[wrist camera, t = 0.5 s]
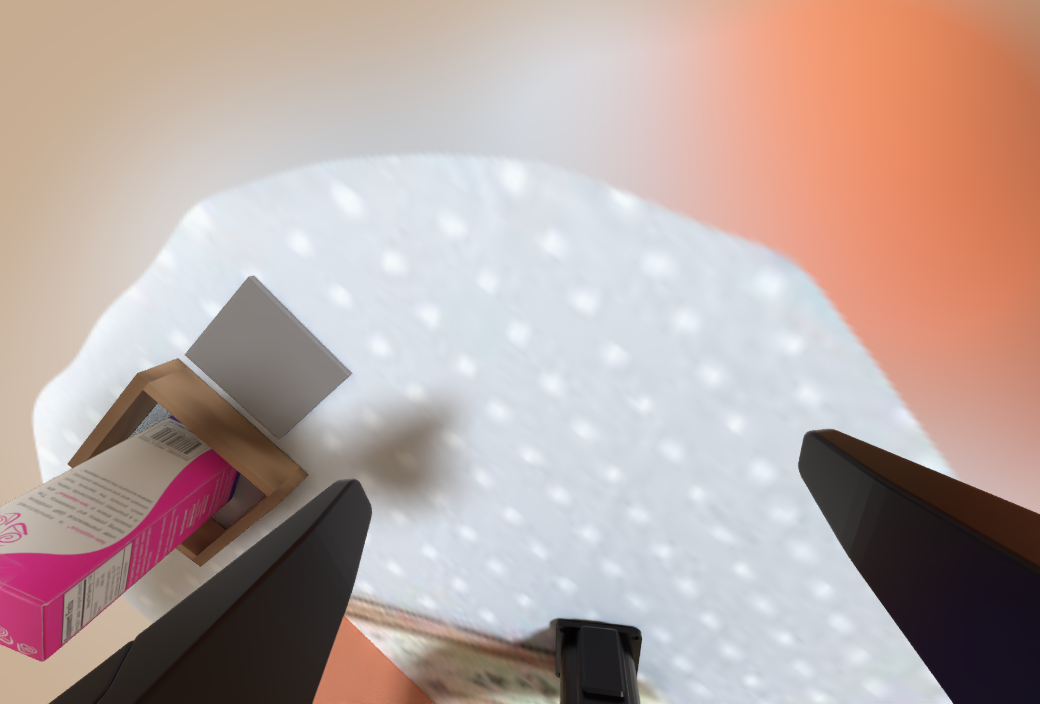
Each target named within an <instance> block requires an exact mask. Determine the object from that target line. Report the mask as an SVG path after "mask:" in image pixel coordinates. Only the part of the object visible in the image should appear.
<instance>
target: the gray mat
mask: <svg viewBox="0 0 1040 704" xmlns="http://www.w3.org/2000/svg"><path fill="white" fill-rule="evenodd" d="M185 356H187V357H188V358H189V359H190V360H191V361H192V362H193V363H194V364H195V365H197V366H198V367H199V368H200V369H201V370H202V371H203V372H204V373H205V374H207V375H208V376H209V377H210V378H211V379H212V380H213V381H214V382H215V383H217V384H218V385H219V386H220V387H221V388H222V389H223V390H224V391H225V392H227V393H228V394H229V395H230V396H231V397H232V398H233V399H234V400H235V401H237V402H238V403H239V404H240V405H241V406H242V407H243V408H244V409H245V410H247V411H248V412H249V413H250V414H251V415H252V416H253V417H254V418H255V419H256V420H258V421H259V422H260V423H261V424H262V425H263V426H264V427H265V428H266V429H268V430H269V431H270V432H271V433H272V434H273V435H274V436H275V437H276V438H278V439H280V438H281V437H283V436H284V435H285V434H286V433H287V432H288V431H289V430H290V429H292V428H293V427H294V426H295V425H296V424H297V423H298V422H299V421H300V420H301V419H303V418H304V417H305V416H306V415H307V414H308V413H309V412H310V411H311V410H312V409H314V408H315V407H316V406H317V405H318V404H319V403H320V402H321V401H322V400H324V399H325V398H326V397H327V396H328V395H329V394H330V393H331V392H332V391H333V390H335V389H336V388H337V387H338V386H339V385H340V384H341V383H342V382H343V381H344V380H346V379H347V378H348V377H349V376H350V375H351V374H352V373H351V372H350V371H349V370H348V369H347V368H346V367H345V366H344V365H343V364H342V363H341V362H340V361H339V360H338V359H337V358H336V357H335V356H334V355H333V354H332V353H331V352H330V351H329V350H328V349H327V348H326V347H325V346H324V345H323V344H322V343H321V342H320V341H319V340H318V339H317V338H316V337H315V336H314V335H313V334H312V333H311V332H310V331H309V330H308V329H307V328H306V327H305V326H304V325H303V324H302V323H301V322H300V321H299V320H298V319H297V318H296V317H295V316H294V315H293V314H292V313H291V312H290V311H289V310H288V309H287V308H286V307H285V306H284V305H283V304H282V303H281V302H280V301H279V300H278V299H277V298H276V297H275V296H274V295H273V294H272V293H271V292H270V291H269V290H268V289H267V288H266V287H265V286H264V285H263V284H262V283H261V282H260V281H259V280H258V279H257V278H256V277H255V276H250V277H248V278H247V279H246V280H245V282H244V283H243V284H242V285H241V287H240V288H239V289H238V290H237V291H236V293H235V294H234V295H233V296H232V298H231V299H230V300H229V301H228V302H227V304H226V305H225V306H224V307H223V309H222V310H221V311H220V312H219V313H218V315H217V316H216V317H215V318H214V320H213V321H212V322H211V323H210V324H209V326H208V327H207V328H206V329H205V330H204V332H203V333H202V334H201V335H200V337H199V338H198V339H197V340H196V341H195V343H194V344H193V345H192V346H191V348H190V349H189V350H188V351H187V352H186V354H185Z"/></svg>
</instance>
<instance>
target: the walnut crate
mask: <svg viewBox="0 0 1040 704" xmlns="http://www.w3.org/2000/svg"><path fill="white" fill-rule="evenodd" d="M157 403H159V404H160V405H161V406H162V407H163V408H165V409H166V410H167V411H168V412H169V413H170V414H172V415H173V416H174V417H175V418H176V419H177V420H179V421H180V422H181V423H182V424H183V425H184V426H186V427H187V428H188V429H189V430H190V431H192V432H193V433H194V434H195V435H196V436H197V437H199V438H200V439H201V440H202V441H203V442H204V443H206V444H207V445H208V446H209V447H210V448H211V449H213V450H214V451H215V452H216V453H217V454H218V455H220V456H221V457H222V458H223V459H224V460H225V461H227V462H228V463H229V464H230V465H231V466H232V467H234V468H235V469H236V470H237V471H238V472H239V473H241V474H242V475H243V476H244V477H245V478H247V479H248V480H249V481H250V482H251V483H252V484H254V485H255V486H256V487H257V488H258V489H259V490H261V491H262V492H263V493H264V494H265V495H266V496H265V497H264V498H263V499H262V500H260V501H259V502H258V503H257V504H256V505H254V506H253V507H252V508H251V509H250V510H248V511H247V512H246V513H245V514H244V515H242V516H241V517H240V518H239V519H238V520H236V521H235V522H234V523H233V524H232V525H230V526H229V527H228V528H227V529H226V530H225V529H224V528H223V527H221V526H220V525H219V524H218V523H216V522H215V521H214V520H213V519H212V518H209V519H208V520H207V521H206V522H205V523H203V524H202V525H201V526H200V527H199V528H198V529H196V530H195V531H194V532H193V533H192V534H191V535H190V536H189V537H187V538H186V539H185V540H184V541H183V542H182V543H180V544H179V545H178V546H177V547H176V548H177V549H178V550H179V551H180V552H182V553H183V554H184V555H186V556H187V557H188V558H190V559H191V560H192V561H193V562H195V563H196V564H197V565H199V566H200V567H201V566H202V565H203V564H204V563H206V562H207V561H208V560H209V559H211V558H212V557H213V556H214V555H215V554H217V553H218V552H219V551H220V550H222V549H223V548H224V547H225V546H227V545H228V544H229V543H230V542H232V541H233V540H234V539H235V538H236V537H238V536H239V535H240V534H241V533H243V532H244V531H245V530H246V529H248V528H249V527H250V526H251V525H253V524H254V523H255V522H256V521H258V520H259V519H260V518H261V517H262V516H264V515H265V514H266V513H267V512H269V511H270V510H271V509H272V508H274V507H275V506H276V505H277V504H279V503H280V502H281V501H282V500H283V499H284V498H285V497H286V496H287V495H288V494H289V493H290V492H291V491H292V490H293V489H294V488H295V487H296V486H297V485H298V484H299V483H300V482H301V481H302V480H303V479H304V478H305V477H306V476H307V475H308V474H307V473H306V472H305V471H303V470H302V469H301V468H300V467H299V466H298V465H297V464H296V463H294V462H293V461H292V460H291V459H290V458H289V457H288V456H287V455H286V454H284V453H283V452H282V451H281V450H280V449H279V448H278V447H277V446H275V445H274V444H273V443H272V442H271V441H270V440H269V439H268V438H267V437H265V436H264V435H263V434H262V433H261V432H260V431H259V430H258V429H256V428H255V427H254V426H253V425H252V424H251V423H250V422H249V421H248V420H246V419H245V418H244V417H243V416H242V415H241V414H240V413H239V412H237V411H236V410H235V409H234V408H233V407H232V406H231V405H230V404H228V403H227V402H226V401H225V400H224V399H223V398H222V397H221V396H220V395H218V394H217V393H216V392H215V391H214V390H213V389H212V388H211V387H209V386H208V385H207V384H206V383H205V382H204V381H203V380H202V379H201V378H199V377H198V376H197V375H196V374H195V373H194V372H193V371H192V370H190V369H189V368H188V367H187V366H186V365H185V364H184V363H183V362H182V361H180V360H179V359H175V360H172V361H169V362H167V363H164V364H161V365H159V366H156V367H153V368H150V369H148V370H145V371H142V372H140V373H137V374H136V376H135V377H134V378H133V380H132V381H131V382H130V384H129V385H128V386H127V387H126V389H125V390H124V391H123V393H122V394H121V395H120V397H119V398H118V399H117V400H116V402H115V403H114V404H113V406H112V407H111V408H110V409H109V411H108V412H107V413H106V415H105V416H104V417H103V419H102V420H101V421H100V422H99V424H98V425H97V426H96V428H95V429H94V430H93V432H92V433H91V434H90V435H89V437H88V438H87V439H86V441H85V442H84V443H83V445H82V446H81V447H80V448H79V450H78V451H77V452H76V454H75V455H74V456H73V458H72V459H71V460H70V461H69V463H68V465H69V466H70V467H72V468H74V467H76V466H78V465H80V464H82V463H83V462H85V461H87V460H89V459H91V458H93V457H95V456H97V455H99V454H100V453H102V452H104V451H106V450H108V449H110V448H112V447H114V446H115V445H117V444H119V443H121V442H123V441H125V440H127V439H128V438H129V436H130V435H131V434H132V433H133V432H134V430H135V429H136V428H137V427H138V426H139V424H140V423H141V422H142V421H143V420H144V418H145V417H146V416H147V415H148V414H149V413H150V411H151V410H152V409H153V408H154V407H155V405H156V404H157Z"/></svg>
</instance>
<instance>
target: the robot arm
mask: <svg viewBox="0 0 1040 704" xmlns="http://www.w3.org/2000/svg"><path fill="white" fill-rule="evenodd" d="M798 468H799V472H800V475H801V477H802V479H803V481H804V482H805V484H806V486H807V487H808V489H809V491H810V493H811V494H812V496H813V498H814V499H815V501H816V503H817V505H818V506H819V508H820V510H821V511H822V513H823V515H824V516H825V518H826V520H827V522H828V523H829V525H830V527H831V528H832V530H833V532H834V534H835V535H836V537H837V539H838V540H839V542H840V544H841V545H842V547H843V549H844V550H845V552H846V553H847V555H848V557H849V558H850V559H851V561H852V562H853V564H854V565H855V567H856V568H857V570H858V571H859V573H860V574H861V575H862V577H863V578H864V579H865V581H866V582H867V584H868V585H869V586H870V588H871V589H872V591H873V592H874V593H875V595H876V596H877V598H878V599H879V600H880V602H881V603H882V605H883V606H884V607H885V609H886V610H887V612H888V613H889V614H890V616H891V617H892V619H893V620H894V621H895V623H896V624H897V626H898V627H899V628H900V630H901V631H902V633H903V634H904V635H905V637H906V638H907V639H908V641H909V642H910V644H911V645H912V646H913V648H914V649H915V651H916V652H917V653H918V655H919V656H920V658H921V659H922V660H923V662H924V663H925V665H926V666H927V667H928V669H929V670H930V672H931V673H932V674H933V676H934V677H935V679H936V680H937V681H938V683H939V684H940V686H941V687H942V688H943V690H944V691H945V693H946V694H947V695H948V697H949V698H950V699H951V701H952V702H953V704H1040V514H1038V513H1036V512H1033V511H1031V510H1028V509H1026V508H1024V507H1021V506H1019V505H1016V504H1014V503H1012V502H1009V501H1007V500H1004V499H1002V498H999V497H997V496H994V495H992V494H990V493H987V492H985V491H982V490H980V489H978V488H975V487H973V486H970V485H968V484H965V483H963V482H961V481H958V480H956V479H953V478H951V477H948V476H946V475H944V474H941V473H939V472H936V471H934V470H931V469H929V468H927V467H924V466H922V465H919V464H917V463H914V462H912V461H910V460H907V459H905V458H902V457H900V456H897V455H895V454H893V453H890V452H888V451H885V450H883V449H881V448H878V447H876V446H873V445H871V444H868V443H866V442H864V441H861V440H859V439H856V438H854V437H851V436H849V435H847V434H844V433H842V432H839V431H837V430H834V429H821V430H812V431H808V432H807V433H806V434H805V435H804V438H803V443H802V447H801V452H800V457H799V462H798ZM371 516H372V508H371V504H370V502H369V500H368V498H367V496H366V494H365V491H364V489H363V487H362V485H361V483H360V482H359V481H358V480H357V479H346V480H339V481H336V482H335V483H333V484H332V485H331V486H330V487H328V488H327V489H326V490H324V491H323V492H322V493H321V494H319V495H318V496H317V497H315V498H314V499H313V500H312V501H310V502H309V503H308V504H306V505H305V506H304V507H302V508H301V509H300V510H299V511H297V512H296V513H295V514H293V515H292V516H291V517H290V518H288V519H287V520H286V521H284V522H283V523H282V524H281V525H279V526H278V527H277V528H275V529H274V530H273V531H272V532H270V533H269V534H268V535H266V536H265V537H264V538H263V539H261V540H260V541H259V542H257V543H256V544H255V545H254V546H252V547H251V548H250V549H248V550H247V551H246V552H245V553H243V554H242V555H241V556H239V557H238V558H237V559H236V560H234V561H233V562H232V563H230V564H229V565H228V566H226V567H225V568H224V569H223V570H221V571H220V572H219V573H217V574H216V575H215V576H214V577H212V578H211V579H210V580H208V581H207V582H206V583H205V584H203V585H202V586H201V587H199V588H198V589H197V590H196V591H194V592H193V593H192V594H190V595H189V596H188V597H187V598H185V599H184V600H183V601H181V602H180V603H179V604H178V605H176V606H175V607H174V608H172V609H171V610H170V611H169V612H167V613H166V614H165V615H163V616H162V617H161V618H159V619H158V620H157V621H156V622H154V623H153V624H152V625H150V626H149V627H148V628H147V629H145V630H144V631H143V632H141V633H140V634H139V635H138V636H137V637H136V638H135V640H134V641H130V642H128V643H127V644H126V645H125V646H123V647H122V648H121V649H119V650H118V651H117V652H116V653H114V654H113V655H112V656H110V657H109V658H108V659H107V660H105V661H104V662H103V663H102V664H100V665H99V666H98V667H96V668H95V669H94V670H92V671H91V672H90V673H88V674H87V675H86V676H84V677H83V678H82V679H80V680H79V681H78V682H77V683H75V684H74V685H73V686H71V687H70V688H69V689H67V690H66V691H65V692H64V693H62V694H61V695H59V696H58V697H57V698H56V699H54V700H53V701H52V702H50V703H49V704H313V701H314V698H315V695H316V693H317V690H318V687H319V684H320V681H321V678H322V676H323V673H324V670H325V667H326V664H327V662H328V659H329V656H330V653H331V650H332V647H333V645H334V642H335V639H336V636H337V633H338V630H339V628H340V625H341V622H342V619H343V616H344V614H345V611H346V608H347V605H348V602H349V599H350V596H351V593H352V590H353V586H354V583H355V579H356V576H357V572H358V568H359V564H360V560H361V556H362V552H363V548H364V544H365V540H366V536H367V532H368V528H369V524H370V520H371ZM641 643H642V636H641V631H640V630H639V629H636V628H628V627H619V626H610V625H600V624H591V623H582V622H573V621H563V620H560V621H558V622H557V623H556V670H555V674H556V676H557V677H559V678H560V704H640V697H639V691H638V684H637V672H638V664H639V657H640V650H641Z"/></svg>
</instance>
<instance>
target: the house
mask: <svg viewBox="0 0 1040 704" xmlns="http://www.w3.org/2000/svg"><path fill="white" fill-rule="evenodd" d="M313 704H435V703H434V702H433V701H432V700H431V699H430V698H429V697H427V696H426V695H425V694H424V693H423V692H422V691H421V690H420V689H419V688H418V687H417V686H416V685H415V684H414V683H413V682H412V681H411V680H410V679H409V678H408V677H407V676H406V675H405V674H404V673H403V672H402V671H401V670H400V669H399V668H398V667H396V666H395V665H394V664H393V663H392V662H391V661H390V660H389V659H388V658H387V657H386V656H385V655H384V654H383V653H382V652H381V651H380V650H379V649H378V648H377V647H376V646H375V645H374V644H373V643H372V642H371V641H370V640H369V639H368V638H366V637H365V636H364V635H363V634H362V633H361V632H360V631H359V630H358V629H357V628H356V627H355V626H354V625H353V624H352V623H351V622H350V621H349V620H348V619H347V618H346V617H345V616H343V619H342V622H341V625H340V628H339V630H338V633H337V636H336V639H335V642H334V645H333V647H332V650H331V653H330V656H329V659H328V662H327V664H326V667H325V670H324V673H323V676H322V678H321V681H320V684H319V687H318V690H317V693H316V695H315V698H314V701H313Z"/></svg>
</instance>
